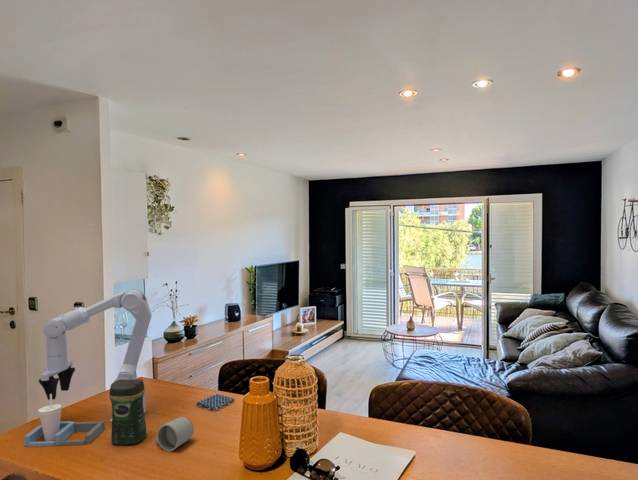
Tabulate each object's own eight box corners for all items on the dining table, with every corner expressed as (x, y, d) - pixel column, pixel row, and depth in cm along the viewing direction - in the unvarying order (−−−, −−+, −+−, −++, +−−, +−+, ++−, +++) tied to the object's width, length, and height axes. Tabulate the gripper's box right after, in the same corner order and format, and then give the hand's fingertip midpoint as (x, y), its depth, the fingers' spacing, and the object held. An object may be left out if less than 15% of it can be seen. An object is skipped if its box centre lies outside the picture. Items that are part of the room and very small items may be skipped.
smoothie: (52, 443, 129) (49, 398, 129) (34, 443, 130) (31, 397, 130) (68, 434, 135) (66, 390, 135) (51, 433, 136) (48, 390, 136)
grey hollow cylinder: (196, 440, 129) (194, 415, 129) (177, 453, 122) (176, 427, 122) (168, 435, 133) (167, 411, 133) (149, 448, 126) (147, 422, 126)
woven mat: (194, 407, 155) (194, 402, 155) (216, 397, 164) (216, 392, 164) (214, 414, 149) (214, 408, 149) (235, 403, 158) (235, 398, 158)
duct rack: (104, 428, 139) (104, 419, 138) (88, 444, 128) (88, 434, 128) (44, 431, 138) (43, 422, 138) (23, 447, 128) (23, 437, 128)
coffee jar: (150, 433, 134) (148, 375, 134) (138, 446, 127) (136, 384, 126) (120, 433, 135) (118, 375, 135) (106, 446, 127) (104, 384, 127)
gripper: (57, 348, 149) (59, 387, 149) (30, 361, 134) (32, 403, 134) (77, 348, 149) (79, 386, 149) (53, 360, 134) (54, 403, 135)
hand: (58, 394), depth 142 cm, fingers open, 7 cm apart
